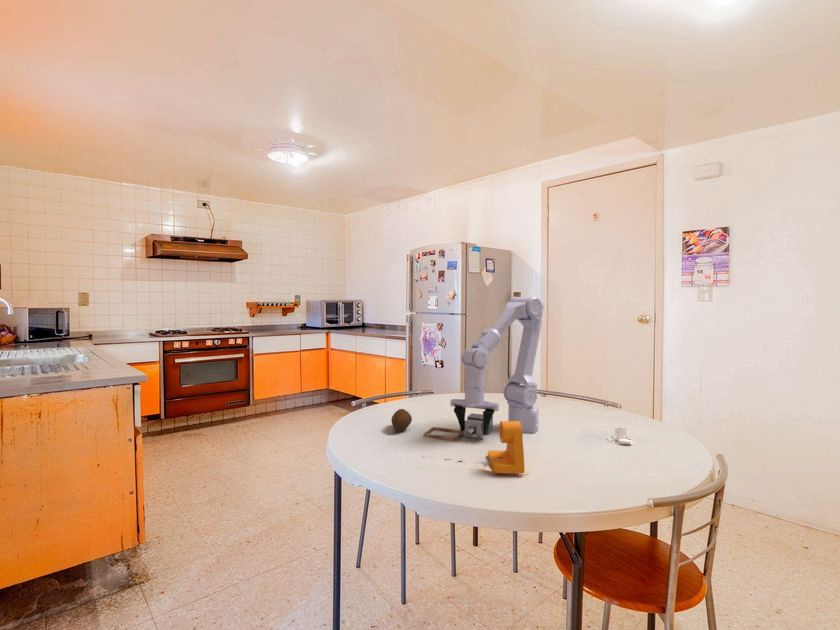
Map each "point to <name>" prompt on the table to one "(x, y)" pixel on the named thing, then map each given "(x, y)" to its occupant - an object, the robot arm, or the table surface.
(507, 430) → the bracket
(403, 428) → the potato
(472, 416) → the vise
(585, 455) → the table surface
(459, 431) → the tray
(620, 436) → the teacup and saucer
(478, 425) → the block
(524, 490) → the table surface
